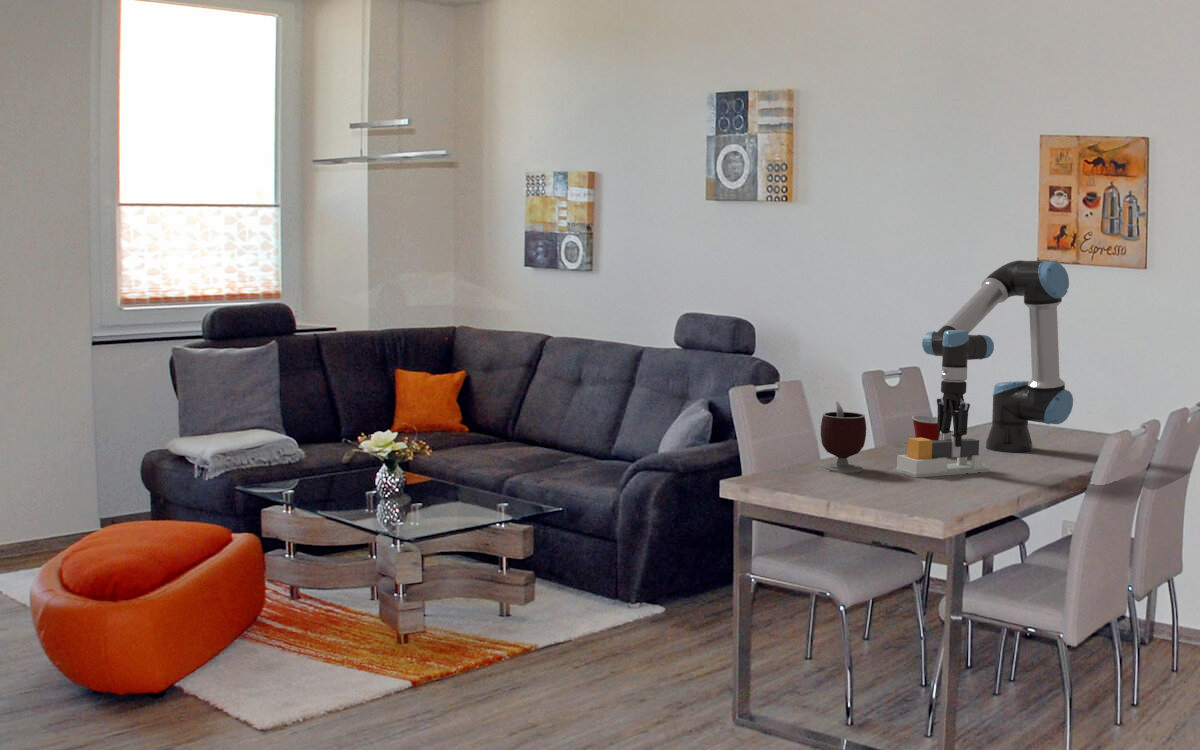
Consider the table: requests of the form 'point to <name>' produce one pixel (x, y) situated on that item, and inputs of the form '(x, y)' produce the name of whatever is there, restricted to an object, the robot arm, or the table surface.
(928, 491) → the table surface
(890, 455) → the table surface
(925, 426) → the plastic cup
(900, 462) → the board
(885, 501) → the table surface
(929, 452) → the bar
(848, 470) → the mate gourd
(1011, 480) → the table surface
